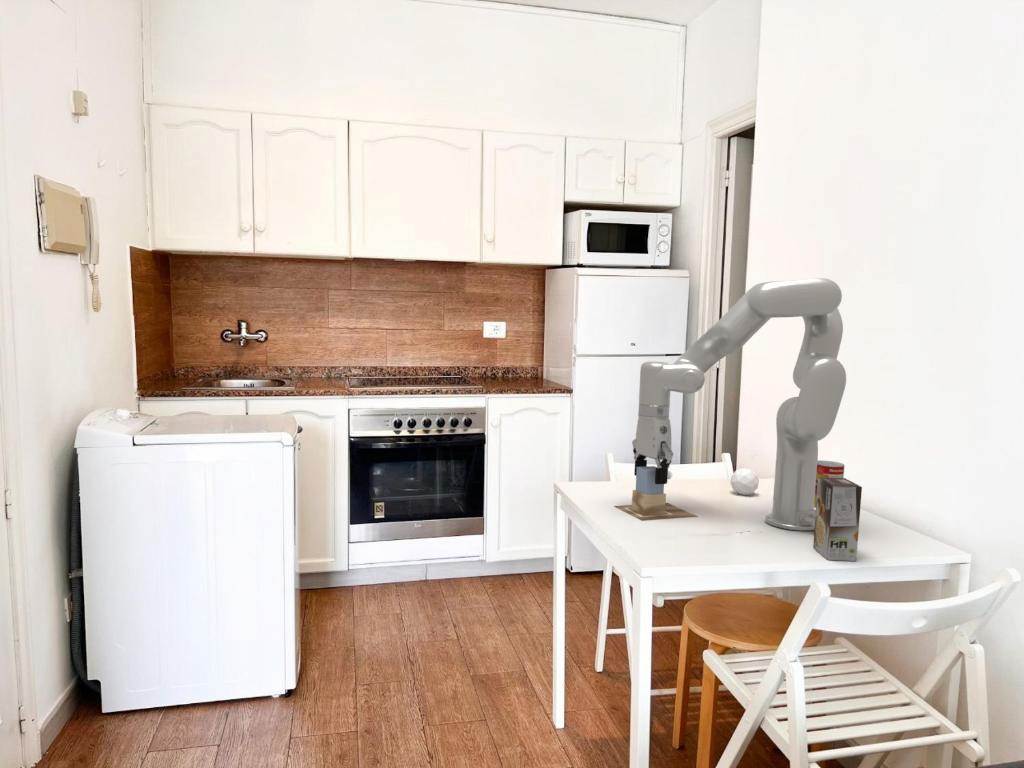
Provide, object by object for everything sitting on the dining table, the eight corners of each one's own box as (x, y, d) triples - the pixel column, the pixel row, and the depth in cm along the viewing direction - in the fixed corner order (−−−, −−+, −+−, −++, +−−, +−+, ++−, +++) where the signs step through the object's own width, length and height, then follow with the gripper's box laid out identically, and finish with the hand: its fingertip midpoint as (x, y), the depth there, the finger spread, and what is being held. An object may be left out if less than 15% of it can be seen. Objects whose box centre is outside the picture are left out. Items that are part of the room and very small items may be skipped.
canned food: (823, 501, 212) (827, 459, 210) (847, 508, 205) (851, 465, 203) (803, 503, 208) (807, 461, 207) (827, 510, 201) (830, 466, 200)
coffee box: (857, 561, 158) (863, 486, 157) (827, 560, 158) (832, 485, 157) (840, 548, 167) (845, 477, 166) (811, 547, 167) (816, 476, 166)
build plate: (697, 521, 185) (698, 516, 185) (641, 525, 180) (641, 520, 180) (666, 507, 198) (667, 502, 198) (613, 510, 193) (613, 505, 193)
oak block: (665, 514, 187) (666, 494, 186) (643, 515, 184) (645, 495, 184) (652, 507, 192) (653, 488, 192) (631, 509, 190) (632, 489, 190)
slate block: (663, 493, 186) (664, 470, 186) (646, 495, 185) (647, 470, 184) (652, 489, 191) (653, 466, 190) (635, 490, 189) (636, 466, 189)
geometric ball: (749, 505, 216) (761, 487, 210) (723, 492, 217) (733, 474, 212) (754, 488, 221) (765, 470, 216) (728, 476, 223) (739, 458, 218)
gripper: (686, 416, 179) (682, 486, 181) (648, 407, 195) (645, 471, 197) (659, 416, 177) (655, 488, 178) (623, 407, 193) (620, 473, 194)
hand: (650, 479), depth 188 cm, fingers open, 9 cm apart
